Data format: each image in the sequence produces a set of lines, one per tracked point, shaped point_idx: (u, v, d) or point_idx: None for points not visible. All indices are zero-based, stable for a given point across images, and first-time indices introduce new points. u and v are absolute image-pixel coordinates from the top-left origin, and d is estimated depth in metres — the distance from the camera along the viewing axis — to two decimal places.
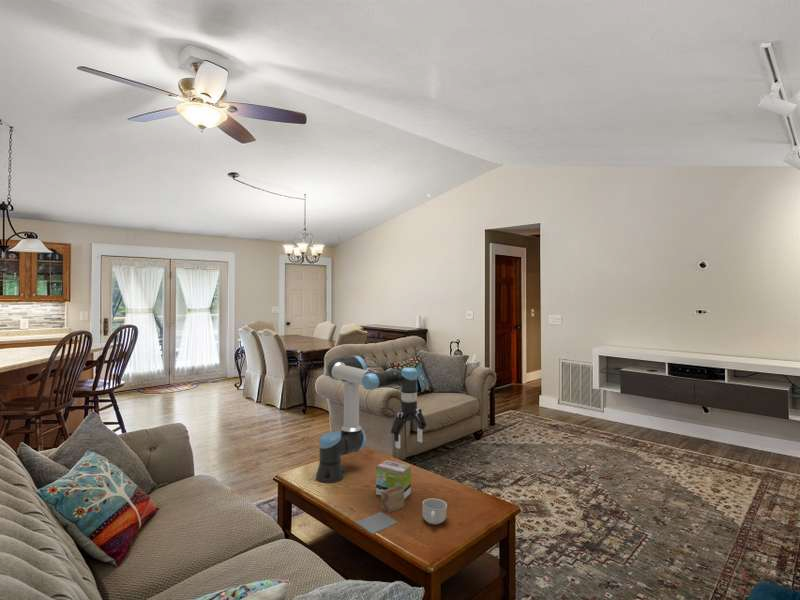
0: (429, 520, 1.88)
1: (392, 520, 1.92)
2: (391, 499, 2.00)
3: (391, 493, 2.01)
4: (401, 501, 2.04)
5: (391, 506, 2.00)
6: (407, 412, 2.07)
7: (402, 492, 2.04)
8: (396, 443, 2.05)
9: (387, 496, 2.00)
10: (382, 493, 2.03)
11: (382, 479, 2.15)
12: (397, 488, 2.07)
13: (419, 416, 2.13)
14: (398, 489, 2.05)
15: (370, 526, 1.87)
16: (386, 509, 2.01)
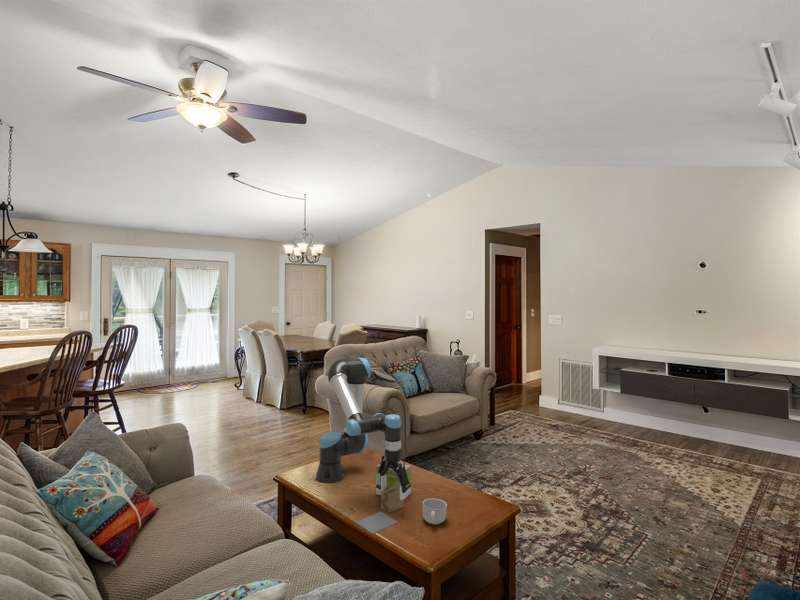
0: (429, 520, 1.88)
1: (392, 520, 1.92)
2: (391, 499, 2.00)
3: (391, 493, 2.01)
4: (401, 501, 2.04)
5: (391, 506, 2.00)
6: (388, 459, 2.05)
7: None
8: None
9: (387, 496, 2.00)
10: (382, 493, 2.03)
11: None
12: (397, 488, 2.07)
13: None
14: (398, 489, 2.05)
15: (370, 526, 1.87)
16: (386, 509, 2.01)
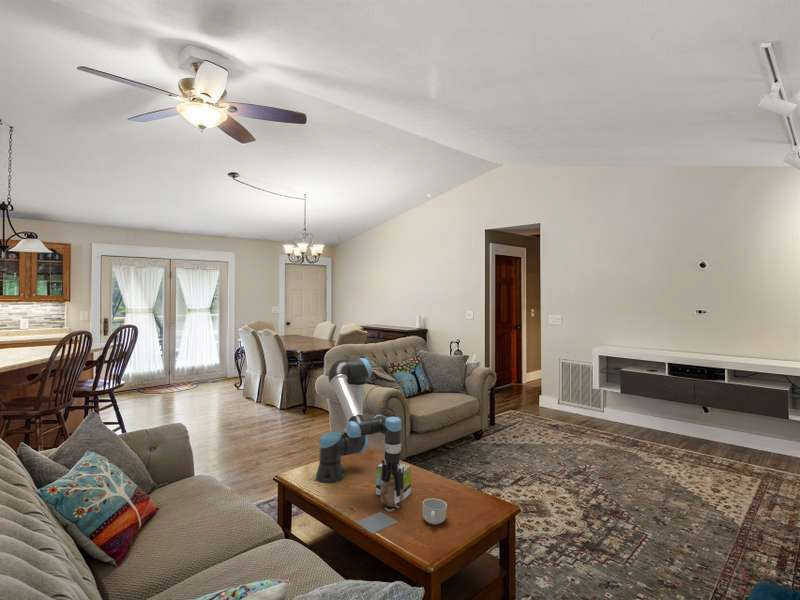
0: (429, 520, 1.88)
1: (392, 520, 1.92)
2: (390, 492, 2.00)
3: (391, 486, 2.02)
4: (401, 494, 2.04)
5: (390, 499, 2.00)
6: None
7: None
8: None
9: (386, 489, 2.01)
10: (382, 486, 2.03)
11: None
12: None
13: None
14: None
15: (370, 526, 1.87)
16: (385, 502, 2.01)
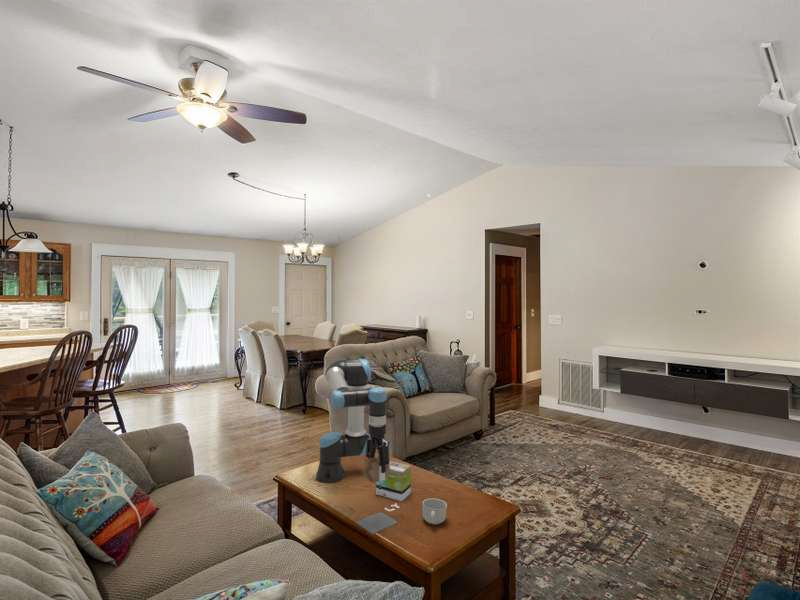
0: (429, 520, 1.88)
1: (392, 520, 1.92)
2: (375, 468, 1.86)
3: (375, 461, 1.87)
4: (387, 470, 1.90)
5: (375, 475, 1.86)
6: None
7: None
8: None
9: (370, 464, 1.86)
10: (366, 462, 1.89)
11: None
12: None
13: None
14: None
15: (370, 526, 1.87)
16: (370, 479, 1.87)
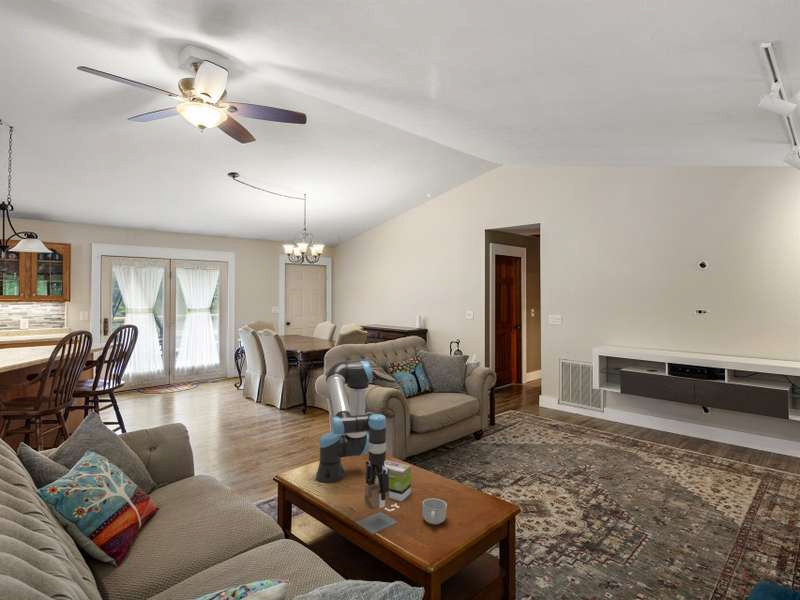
0: (429, 520, 1.88)
1: (392, 520, 1.92)
2: (375, 495, 1.86)
3: (375, 489, 1.87)
4: (387, 497, 1.90)
5: (375, 503, 1.86)
6: None
7: None
8: None
9: (370, 492, 1.86)
10: (366, 489, 1.89)
11: None
12: None
13: None
14: None
15: (370, 526, 1.87)
16: (370, 506, 1.87)
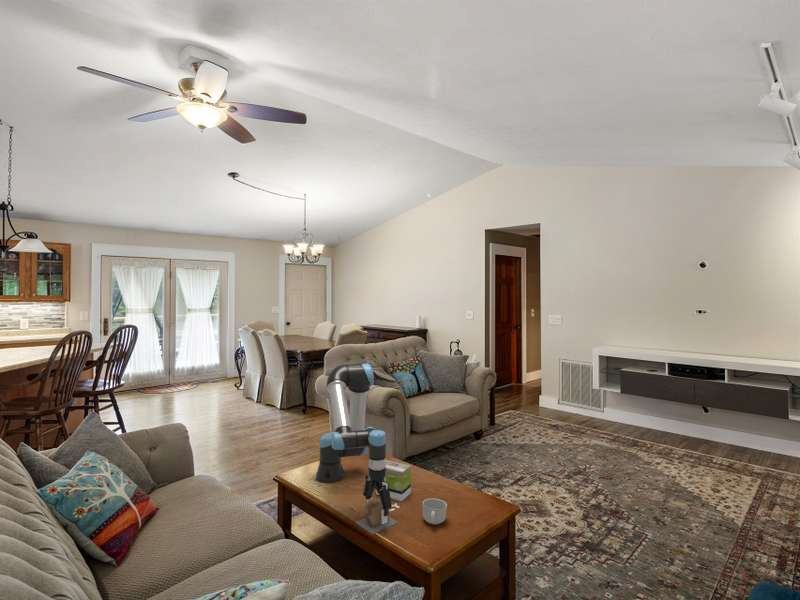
0: (429, 520, 1.88)
1: (392, 520, 1.92)
2: (375, 513, 1.86)
3: (375, 507, 1.88)
4: None
5: (375, 521, 1.86)
6: (372, 477, 1.91)
7: None
8: None
9: (370, 510, 1.87)
10: (365, 507, 1.89)
11: None
12: None
13: None
14: None
15: None
16: (370, 524, 1.87)
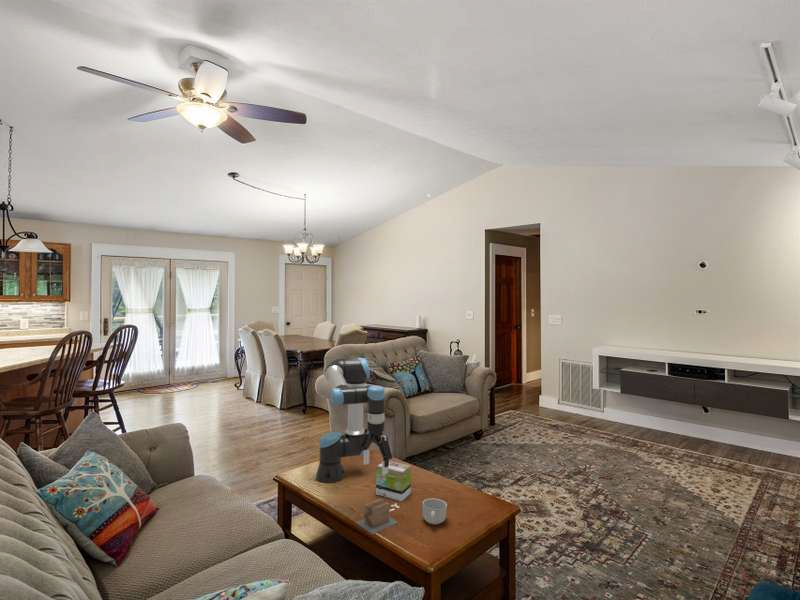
0: (429, 520, 1.88)
1: (392, 520, 1.92)
2: (375, 513, 1.86)
3: (375, 507, 1.88)
4: (386, 515, 1.90)
5: (375, 521, 1.86)
6: (371, 432, 1.95)
7: (387, 505, 1.91)
8: None
9: (370, 510, 1.87)
10: (365, 507, 1.89)
11: (382, 479, 2.15)
12: (382, 501, 1.93)
13: None
14: (383, 502, 1.92)
15: None
16: (370, 524, 1.87)
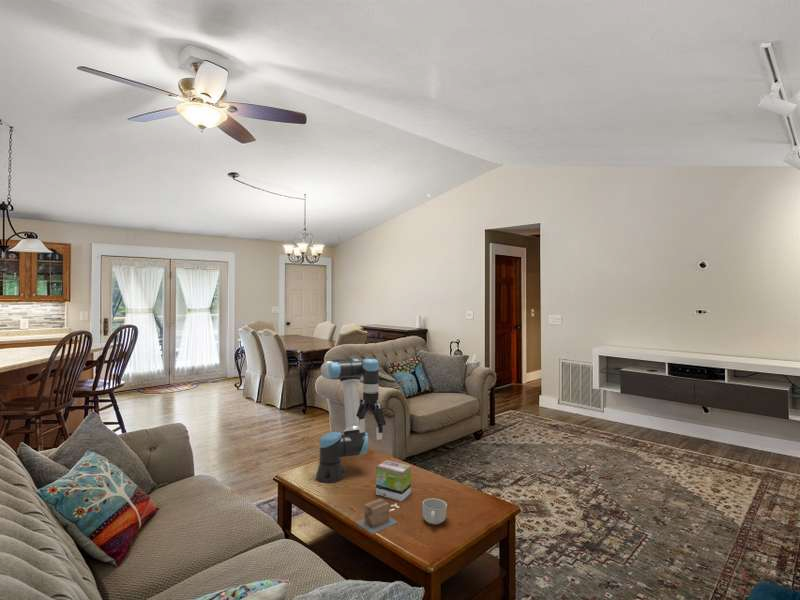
0: (429, 520, 1.88)
1: (392, 520, 1.92)
2: (375, 513, 1.86)
3: (375, 507, 1.88)
4: (386, 515, 1.90)
5: (375, 521, 1.86)
6: (366, 401, 2.11)
7: (387, 505, 1.91)
8: None
9: (370, 510, 1.87)
10: (365, 507, 1.89)
11: (382, 479, 2.15)
12: (382, 501, 1.93)
13: None
14: (383, 502, 1.92)
15: None
16: (370, 524, 1.87)
